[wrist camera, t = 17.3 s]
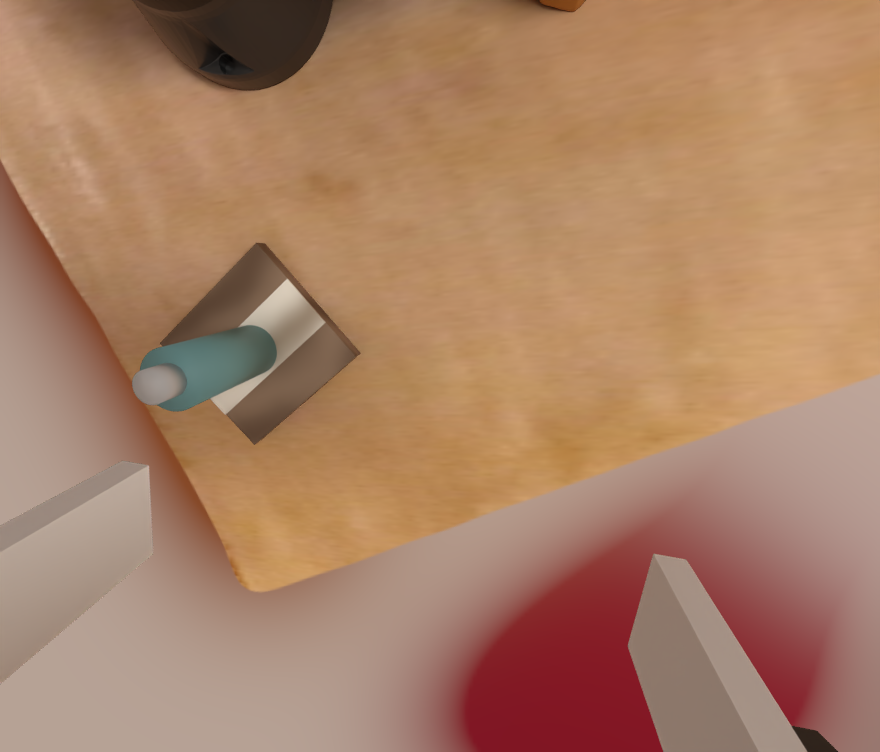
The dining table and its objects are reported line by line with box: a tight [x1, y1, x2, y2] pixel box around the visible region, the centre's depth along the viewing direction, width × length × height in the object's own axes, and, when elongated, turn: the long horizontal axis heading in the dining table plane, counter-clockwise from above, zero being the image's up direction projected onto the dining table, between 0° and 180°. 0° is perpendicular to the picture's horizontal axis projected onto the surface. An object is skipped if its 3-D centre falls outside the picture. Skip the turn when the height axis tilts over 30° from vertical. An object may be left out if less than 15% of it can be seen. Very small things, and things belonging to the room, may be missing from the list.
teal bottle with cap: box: [132, 325, 277, 411], centre depth 36 cm, size 5×5×13 cm
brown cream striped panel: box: [160, 243, 360, 445], centre depth 43 cm, size 13×14×2 cm
